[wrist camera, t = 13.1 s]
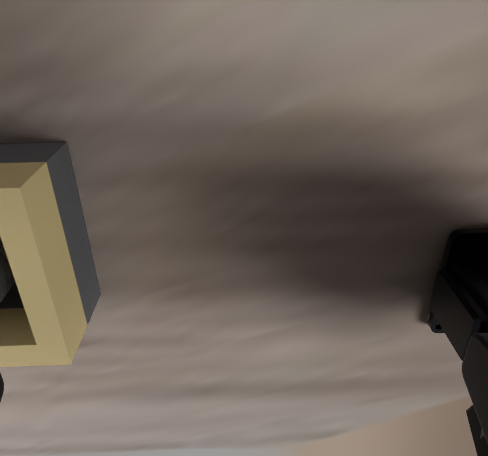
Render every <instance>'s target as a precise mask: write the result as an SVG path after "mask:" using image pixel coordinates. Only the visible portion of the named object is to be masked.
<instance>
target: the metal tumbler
mask: <svg viewBox="0 0 488 456" xmlns="http://www.w3.org/2000/svg"><path fill="white" fill-rule="evenodd" d="M14 283H15V279H14V276H13V273H12V270H11V267H10V264H9V261H8V258H7V255H6V252H5V249H4V246H3V243H2V240H1V237H0V302H1V301H2V300H3V298H4V297H5V295H6V294H7V293H8V291H9V290H10V288H11V287H12V285H13V284H14Z"/></svg>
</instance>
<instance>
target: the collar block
mask: <svg viewBox="0 0 488 456" xmlns="http://www.w3.org/2000/svg"><path fill="white" fill-rule="evenodd" d="M0 237H1V240H2V243H3V246H4V249H5V252H6V255H7V258H8V261H9V264H10V267H11V270H12V273H13V276H14V279H15V283H14V284H13V285H12V287H11V288H10V290H9V291H8V293H7V294H6V295H5V297H4V298H3V300H2V301H1V302H0V367H13V366H42V365H71V364H72V361H73V359H74V357H75V354H76V352H77V349H78V347H79V345H80V342H81V340H82V337H83V335H84V333H85V330H86V328H87V325H88V323H89V321H90V318H91V316H92V313H93V311H94V309H95V306H96V304H97V301H98V299H99V297H100V294H101V293H100V289H99V284H98V280H97V275H96V271H95V266H94V262H93V257H92V253H91V248H90V244H89V239H88V235H87V230H86V226H85V221H84V217H83V212H82V208H81V203H80V199H79V194H78V190H77V185H76V181H75V176H74V172H73V167H72V163H71V158H70V154H69V149H68V145H67V142H43V143H6V144H0Z"/></svg>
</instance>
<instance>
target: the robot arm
mask: <svg viewBox="0 0 488 456" xmlns="http://www.w3.org/2000/svg"><path fill="white" fill-rule="evenodd" d="M462 237H463V239H462V240H461V241H460V242H457V240H458V239H459V238H462ZM429 307H430V310H431V312H430V316H429V320H428V325H429V327H430V328H431V330H432V331H433V332H435V333H445V334H446V336H447V337H448V339H449V341H450V342H451V344H452V346H453V347H454V349H455V350H456V352H457V354H458V355H459V357H460V359H461V360H462V361H463V363H462V374H463V378H464V381H465V383H466V386H467V389H468V392H469V394H470V397H471V400H472V402H473V405H472V406H471V407H470V408H469V409H468V410H466V413H467V416H468V420H469V424H470V428H471V432H472V436H473V440H474V444H475V447H476V452H477V455H478V456H488V228H479V229H458V230H455V231H453V232H452V233H451V234H450V236H449V238H448V242H447V246H446V250H445V254H444V258H443V262H442V266H441V268H440V269H439V271H438V272H437V277H436V281H435V285H434V289H433V293H432V298H431V302H430V306H429ZM438 323H439V324H438ZM437 324H438V325H437ZM3 391H4V382H3V378H2V376H1V373H0V402H1V399H2V396H3Z"/></svg>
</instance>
